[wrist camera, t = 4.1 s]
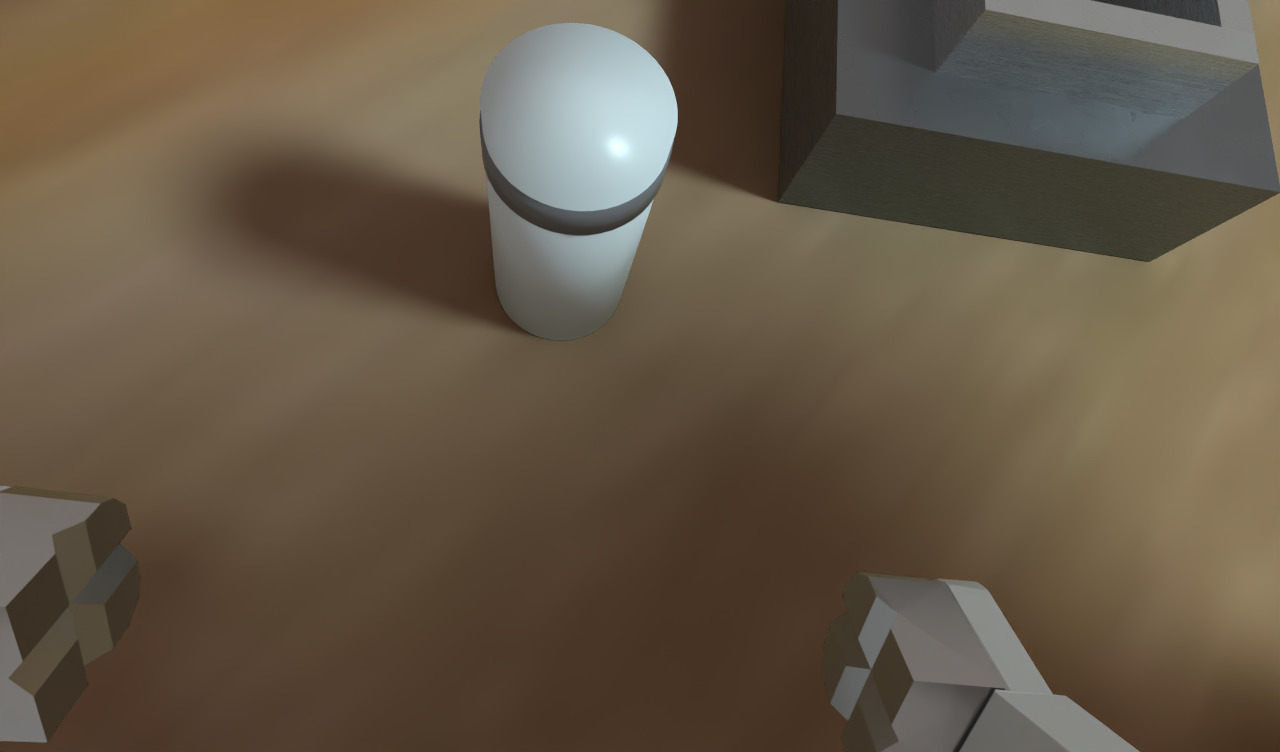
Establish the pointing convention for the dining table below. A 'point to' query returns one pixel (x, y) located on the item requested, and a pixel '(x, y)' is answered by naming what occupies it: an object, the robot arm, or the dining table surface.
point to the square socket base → (1028, 117)
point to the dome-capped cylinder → (571, 171)
